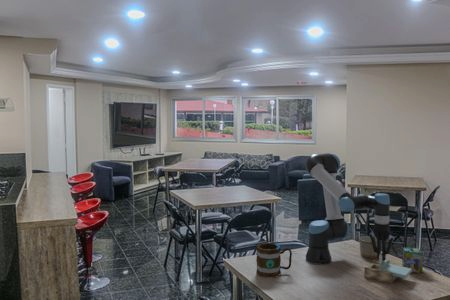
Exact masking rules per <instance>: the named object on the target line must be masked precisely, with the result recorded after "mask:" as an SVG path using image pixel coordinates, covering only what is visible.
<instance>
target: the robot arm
mask: <svg viewBox="0 0 450 300" xmlns="http://www.w3.org/2000/svg"><path fill="white" fill-rule="evenodd" d="M304 166H305V170H306V171H307V173H308V174H309V175H310V176H311V177H312V178H315V179H316V181H317V182H319V183H320V184H321V185H322V190H323V197H324V204H325V211H326V217H325V218H324V219H321V220H318V219H317V220H313V221H311V222H310V223H309V225H308V248H307V251H306V254H305V260H306V262H308V263H309V264H314V265H329V264H331V263H332V255H331V252H330V248H329V247H330V246H329V244H330V243H331V242H335V241H342V240H345V239H347V238H348V236H349V235H350V233H351V226H350V224H349V223H348V221H347V220H346V219H345V217H344V216H343V215H342V212H353V211H359V210H360V211H361V210H372V211H374V213H373V214H374V218H373V219H374V223H373V229H374V230H373V232H371V233H369V234H368V236H370V238H371V241H372V246H373V250H374V252H376V253H377V257H376V259H377V261H379V267H380V264H381V263H382V262H383V261H385V260H386V255H388V254H390V252H391V248H392V245H393V241H394V240H395V239H396V238H395V236H392V235H391V232H390V207H391V206H390V205H391V201H390V195H389V194H388V193H382V192H380V193H379V192H378V193H375V194H374V195H369V194H366V193H364V194H363V193H360V194H358V195H356V196H355V195H352V194H351V193H350V192H349V191H348V190H347V189H346V188H345V187H344V186H343V185H341V184H340V183H339V181H338V180H337V177H336V176H338V174H339V173H338V171H339V170H340V168H341V161H340V158H339V157H338V155H336V154H335V153H330V152H329V153H328V152H327V153H313V154H311V155H309V156H308V157H307V158H306V161H305V165H304ZM341 211H342V212H341ZM375 237H376V238H377V246H376V241H375ZM387 240H388V243H387Z"/></svg>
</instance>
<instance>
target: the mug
mask: <svg viewBox="0 0 450 300" xmlns="http://www.w3.org/2000/svg"><path fill="white" fill-rule="evenodd" d="M281 248H282V247H281V245H279V244H277V243H271V242H265V243H264V242H263V243H259V244H257V245H256V275H258V276H259V277H261V278H267V277H269V278H268V279H271V278H270V277H272V278H277V277H276V276H278V277H279V276H280V275H281V274H282V273H281V269H282V270H290V269H291V267H292V255H293V253H292V249H291V248H288V247H286V248H285V247H284V249H282V251H281ZM286 251H289V258H288V266H283V265H281V261H282V259H281V255H282V254H284V253H285V252H286ZM279 274H280V275H279Z"/></svg>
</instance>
